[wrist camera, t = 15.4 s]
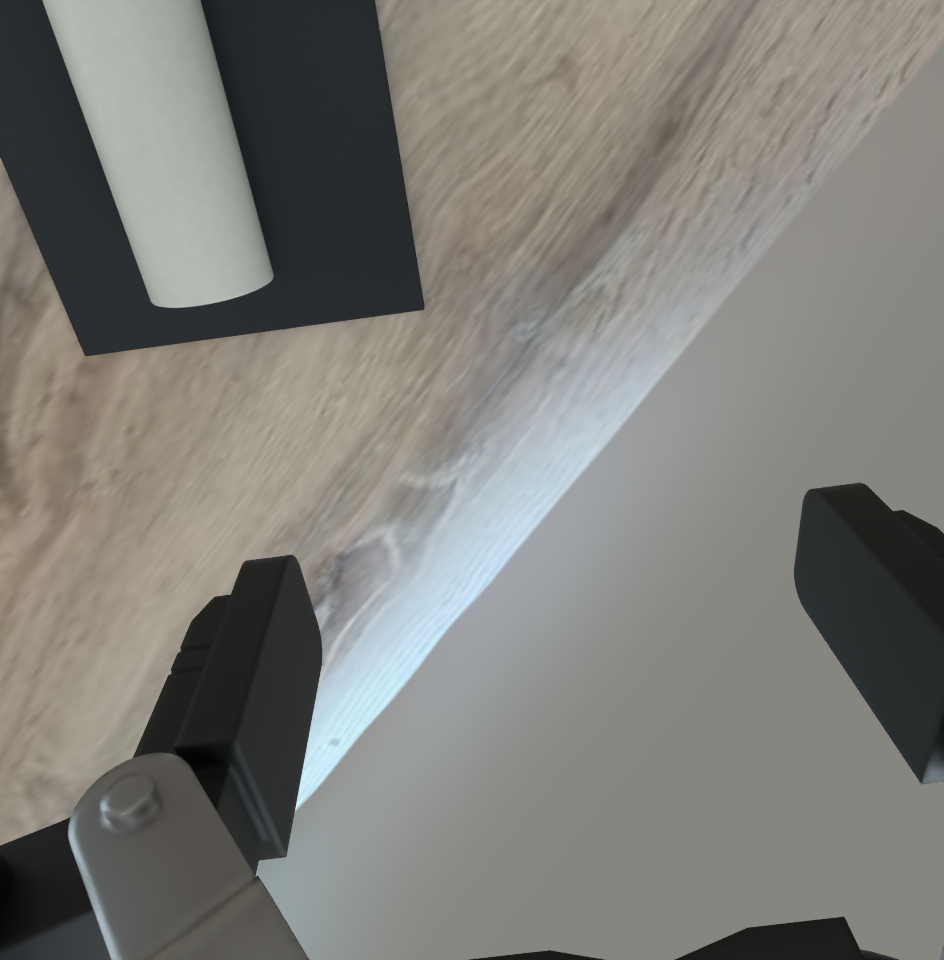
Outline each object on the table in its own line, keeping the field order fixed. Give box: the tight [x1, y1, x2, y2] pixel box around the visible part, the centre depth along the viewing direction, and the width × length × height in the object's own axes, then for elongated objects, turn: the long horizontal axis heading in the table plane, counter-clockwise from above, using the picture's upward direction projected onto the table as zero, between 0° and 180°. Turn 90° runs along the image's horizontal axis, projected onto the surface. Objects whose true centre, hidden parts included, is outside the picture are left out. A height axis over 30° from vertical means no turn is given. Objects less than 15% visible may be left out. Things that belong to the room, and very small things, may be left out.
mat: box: [0, 0, 424, 356], centre depth 33 cm, size 20×18×1 cm
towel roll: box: [42, 0, 273, 308], centre depth 30 cm, size 6×14×6 cm, turn 7°
